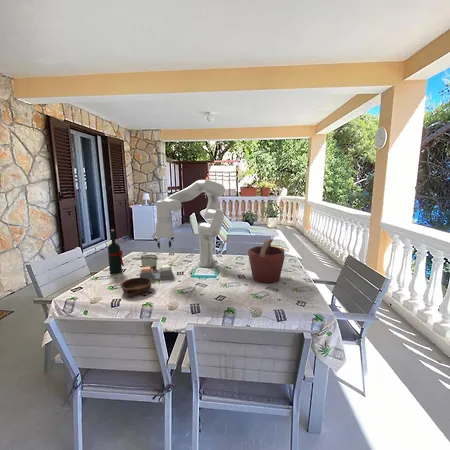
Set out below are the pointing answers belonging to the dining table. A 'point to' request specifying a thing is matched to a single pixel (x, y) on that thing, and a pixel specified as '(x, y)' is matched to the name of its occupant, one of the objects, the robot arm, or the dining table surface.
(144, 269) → the key terracotta
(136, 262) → the dining table surface
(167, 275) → the key panel
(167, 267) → the key cream
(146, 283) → the dish
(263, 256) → the bucket
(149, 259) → the grey arched window
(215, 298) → the dining table surface
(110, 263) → the wine bottle
